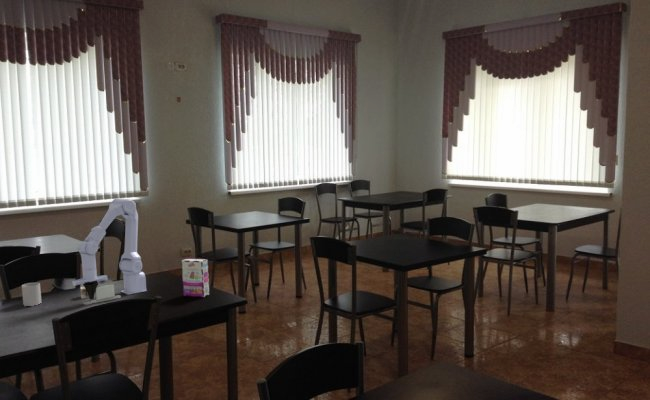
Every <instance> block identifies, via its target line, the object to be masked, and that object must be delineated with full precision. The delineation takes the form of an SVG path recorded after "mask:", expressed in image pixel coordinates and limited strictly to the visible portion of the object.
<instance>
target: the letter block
mask: <svg viewBox="0 0 650 400" xmlns="http://www.w3.org/2000/svg"><path fill="white" fill-rule="evenodd" d="M80 298H81V300H83V299H89V295H88V293H87V291H86V289H85V287H84V286H80Z"/></svg>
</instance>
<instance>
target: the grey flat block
mask: <svg viewBox="0 0 650 400" xmlns="http://www.w3.org/2000/svg"><path fill="white" fill-rule="evenodd" d="M115 296H116V295H115V284H113V283H111V284H107V285H106V284H105V285H100V286H97V288H96V291H95V294H94V297H95V300H101V299H106V298H111V297H115Z"/></svg>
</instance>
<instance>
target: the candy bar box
mask: <svg viewBox="0 0 650 400" xmlns="http://www.w3.org/2000/svg"><path fill="white" fill-rule="evenodd" d="M181 272H182V273H181V274H182V291H183V297H198V298H205V297H208V296H209V295H210V282H209V281H210V279H209V262H208V259H207V258H206V259H204V258H185V259H182V260H181Z"/></svg>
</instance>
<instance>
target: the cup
mask: <svg viewBox="0 0 650 400" xmlns="http://www.w3.org/2000/svg"><path fill="white" fill-rule="evenodd" d="M41 291H42V290H41V283H40V282H27V283H24V284H22V285H21V295H22V303H23V306H24V307H26V306H31V307H35V306H34V305H37V306H39V305H38V304H40V303H41V304H42V293H41ZM41 304H40V305H41Z"/></svg>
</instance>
